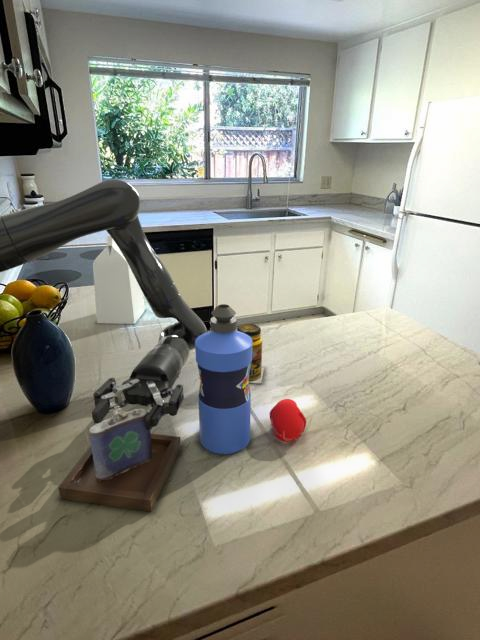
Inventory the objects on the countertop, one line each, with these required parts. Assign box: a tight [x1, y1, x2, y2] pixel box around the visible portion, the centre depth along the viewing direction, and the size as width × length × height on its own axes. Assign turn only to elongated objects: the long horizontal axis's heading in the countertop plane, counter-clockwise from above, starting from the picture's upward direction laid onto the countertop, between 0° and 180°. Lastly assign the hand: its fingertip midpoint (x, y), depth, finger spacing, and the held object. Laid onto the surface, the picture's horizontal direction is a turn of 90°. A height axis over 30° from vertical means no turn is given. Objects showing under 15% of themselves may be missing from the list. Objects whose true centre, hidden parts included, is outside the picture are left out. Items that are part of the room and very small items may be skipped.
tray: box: [58, 433, 182, 513], centre depth 64 cm, size 14×14×2 cm
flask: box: [88, 406, 152, 481], centre depth 62 cm, size 9×3×11 cm, turn 127°
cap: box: [269, 398, 307, 443], centre depth 72 cm, size 8×6×6 cm
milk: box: [92, 234, 146, 325], centre depth 123 cm, size 12×12×26 cm
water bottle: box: [194, 304, 252, 455], centre depth 68 cm, size 9×9×25 cm
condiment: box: [236, 323, 265, 384], centre depth 91 cm, size 7×8×12 cm
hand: (121, 421), depth 61 cm, fingers open, 8 cm apart
